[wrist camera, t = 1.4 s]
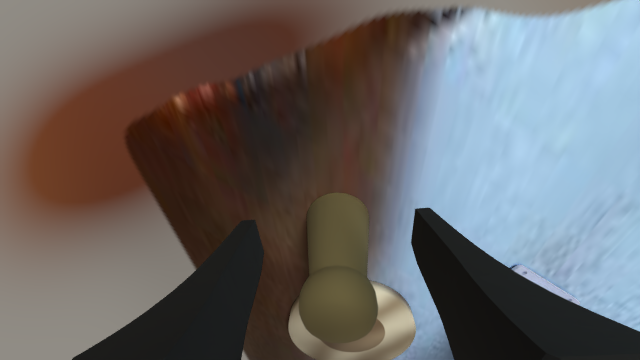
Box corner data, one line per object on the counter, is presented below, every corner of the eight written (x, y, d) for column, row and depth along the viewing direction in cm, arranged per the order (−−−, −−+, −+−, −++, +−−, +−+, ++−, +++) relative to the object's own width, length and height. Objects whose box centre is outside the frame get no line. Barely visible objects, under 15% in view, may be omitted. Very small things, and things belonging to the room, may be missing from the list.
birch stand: (439, 312, 31) (444, 325, 30) (362, 367, 38) (363, 379, 36) (333, 258, 28) (333, 269, 27) (269, 327, 35) (266, 339, 33)
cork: (332, 252, 28) (329, 367, 18) (293, 214, 26) (267, 321, 16) (381, 224, 26) (408, 337, 16) (343, 180, 24) (348, 280, 14)
